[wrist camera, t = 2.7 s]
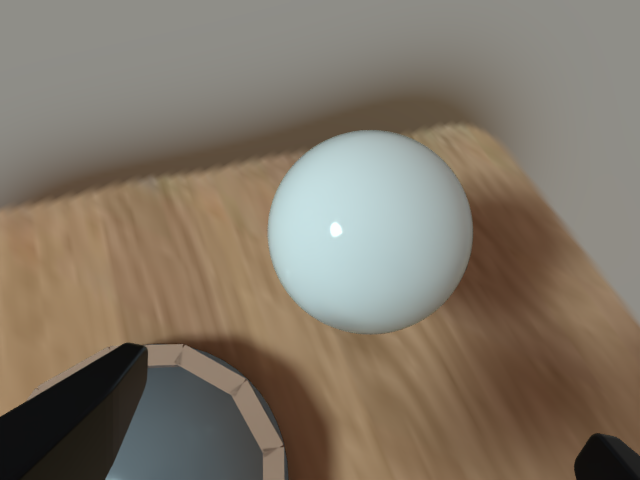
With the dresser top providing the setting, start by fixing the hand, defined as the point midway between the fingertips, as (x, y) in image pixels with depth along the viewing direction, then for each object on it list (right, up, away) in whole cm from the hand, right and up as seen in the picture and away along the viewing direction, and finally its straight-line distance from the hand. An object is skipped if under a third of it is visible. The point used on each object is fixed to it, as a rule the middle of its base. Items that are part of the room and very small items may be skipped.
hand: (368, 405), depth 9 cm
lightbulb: (0, +1, +13) cm, 13 cm away
